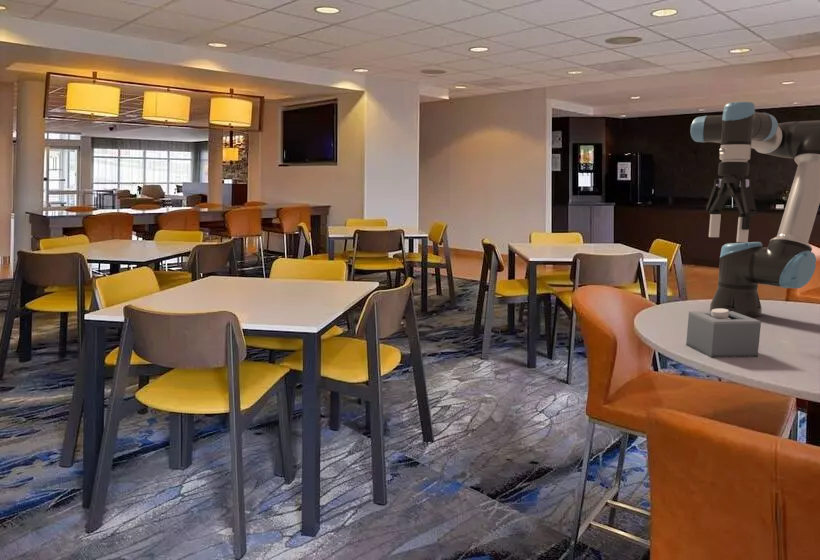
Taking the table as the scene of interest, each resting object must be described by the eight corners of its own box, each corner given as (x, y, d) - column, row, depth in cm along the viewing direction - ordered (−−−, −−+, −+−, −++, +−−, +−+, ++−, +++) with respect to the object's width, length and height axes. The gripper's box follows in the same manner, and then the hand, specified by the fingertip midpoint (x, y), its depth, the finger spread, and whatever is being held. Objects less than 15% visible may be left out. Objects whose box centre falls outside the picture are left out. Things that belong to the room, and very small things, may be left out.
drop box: (729, 344, 174) (732, 311, 173) (757, 357, 162) (761, 321, 161) (686, 345, 173) (688, 311, 171) (711, 357, 161) (714, 321, 160)
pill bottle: (711, 343, 171) (709, 307, 169) (734, 344, 168) (733, 307, 166) (707, 350, 167) (706, 312, 165) (731, 351, 164) (730, 313, 162)
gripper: (696, 161, 191) (691, 235, 194) (748, 160, 166) (741, 244, 169) (721, 162, 191) (715, 235, 195) (777, 160, 167) (768, 244, 170)
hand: (727, 239), depth 182 cm, fingers open, 13 cm apart
